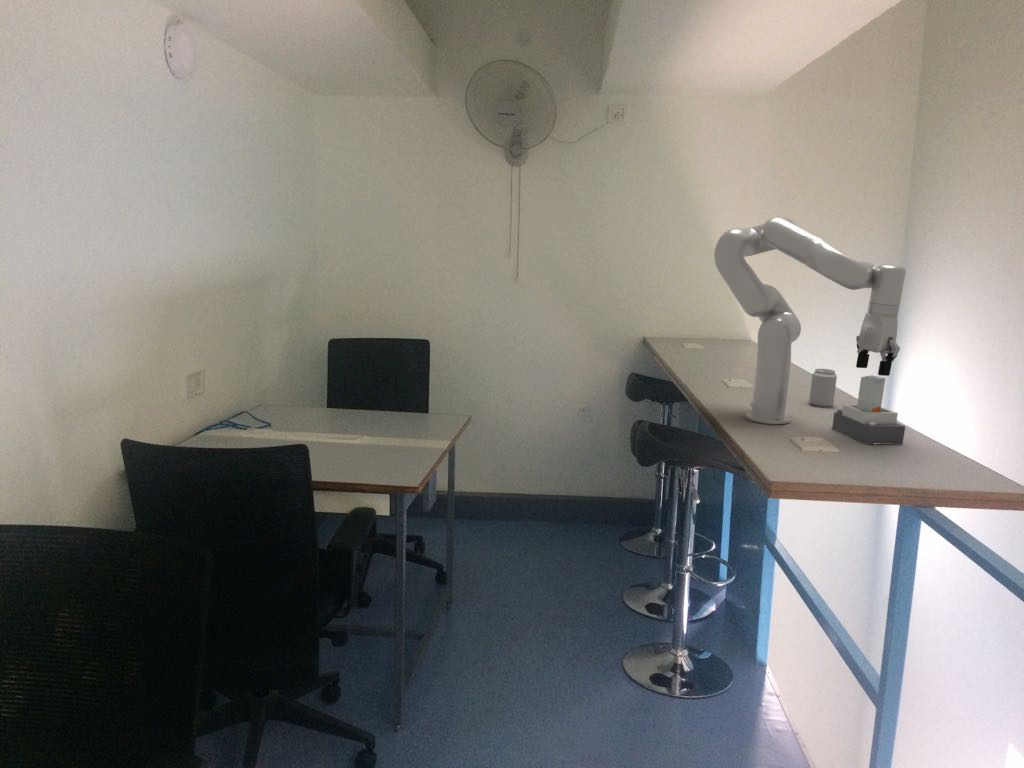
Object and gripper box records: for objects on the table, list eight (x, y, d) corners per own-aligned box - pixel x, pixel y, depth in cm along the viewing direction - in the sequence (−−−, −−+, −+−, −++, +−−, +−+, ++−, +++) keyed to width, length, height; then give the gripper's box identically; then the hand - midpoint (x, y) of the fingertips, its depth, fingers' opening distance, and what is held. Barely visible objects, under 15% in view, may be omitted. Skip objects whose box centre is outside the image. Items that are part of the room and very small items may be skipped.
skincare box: (869, 421, 208) (875, 379, 205) (854, 418, 211) (860, 376, 208) (880, 419, 211) (886, 377, 209) (865, 415, 215) (870, 374, 212)
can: (836, 408, 245) (841, 372, 243) (813, 407, 245) (818, 371, 243) (827, 403, 253) (832, 368, 250) (805, 402, 253) (809, 367, 250)
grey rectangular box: (832, 428, 219) (835, 401, 217) (866, 428, 221) (869, 401, 219) (866, 444, 203) (870, 415, 202) (902, 443, 205) (906, 414, 203)
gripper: (851, 305, 212) (841, 364, 216) (891, 314, 196) (880, 378, 199) (875, 306, 214) (865, 365, 217) (917, 315, 197) (905, 378, 201)
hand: (872, 371), depth 208 cm, fingers open, 9 cm apart
